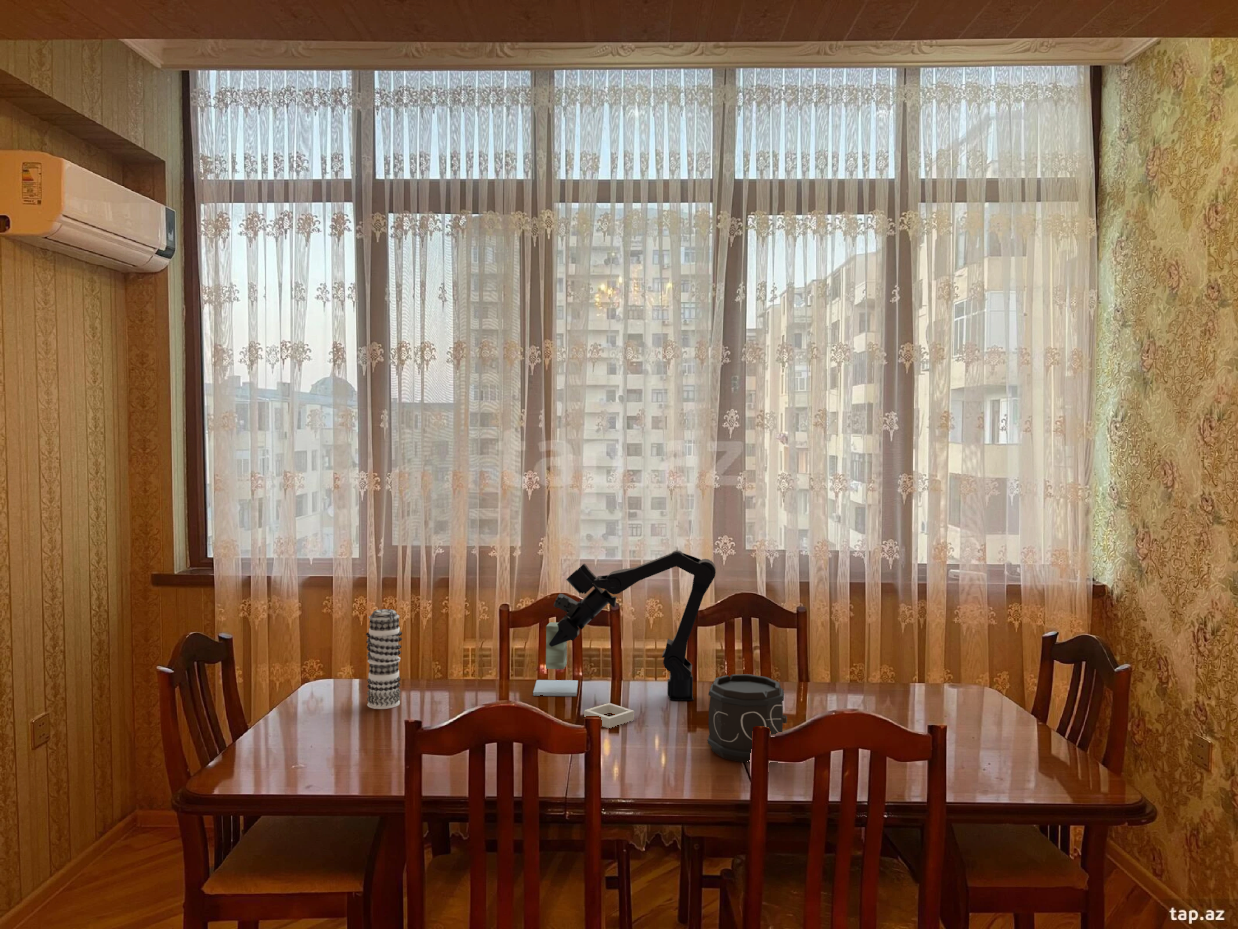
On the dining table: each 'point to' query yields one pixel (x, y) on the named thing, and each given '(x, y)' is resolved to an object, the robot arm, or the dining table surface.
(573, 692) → the slate pad
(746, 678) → the dark grey coffee canister
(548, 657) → the green block
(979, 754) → the dining table surface
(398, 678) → the decorative candle
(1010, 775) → the dining table surface
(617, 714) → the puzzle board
